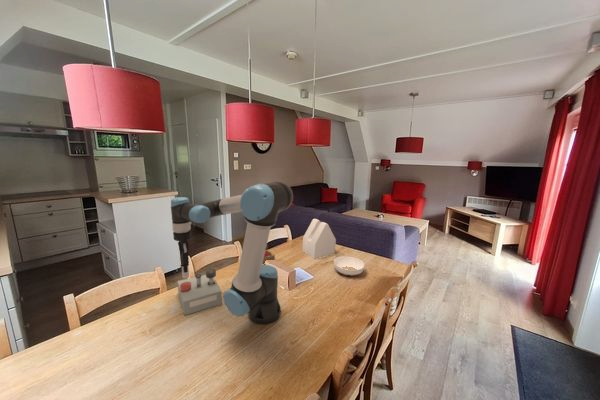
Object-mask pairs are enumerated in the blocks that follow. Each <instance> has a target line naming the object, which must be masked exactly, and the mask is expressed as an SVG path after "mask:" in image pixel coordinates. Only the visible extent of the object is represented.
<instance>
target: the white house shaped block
mask: <svg viewBox="0 0 600 400" xmlns="http://www.w3.org/2000/svg"><path fill="white" fill-rule="evenodd" d="M336 245H337V239H336V237H335V235H334V233H333V232H332V229H331V228H330V226H329V224H328V223H327V222H324V221H321V220H319V219H318V218H313V219H312V220H311V222H310V224H309V226H308V227H307V229H306V231H305V233H304V235H303V236H302V252H303V253H304V252H305V253H304V254H306V255H307V254H308V255H307V256H309V257H310V256H311V257H310V258H312V259H313V258H314V260H317V259H320V258H319V257H321V258H324V257H323V256H325V257H327V256H326V255H329V256H331V255H330V254H333V255H335V254H336ZM334 253H335V254H334ZM316 258H317V259H316Z"/></svg>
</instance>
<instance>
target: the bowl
mask: <svg viewBox="0 0 600 400" xmlns="http://www.w3.org/2000/svg"><path fill="white" fill-rule="evenodd" d="M333 265H334V268H335V270H336V271H337V272H338V273H340V274H342V275H343V276H347V275H350V276H349V277H353V276H358V275H360V274H361V273H363V272H364V270H365V265H366V264H365V263H364V261H362V260H361V259H359V258H356V257H353V256H344V255H343V256H338V257H336V258H335V259H334V260H333ZM346 266H347V267H353V268H355V269H357V270H348V269H343V268H342V267H346Z"/></svg>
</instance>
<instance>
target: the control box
mask: <svg viewBox="0 0 600 400" xmlns="http://www.w3.org/2000/svg"><path fill="white" fill-rule="evenodd" d="M213 281H214V284H211V285H209V278H207V277H206V274H203V275H202V274H201V286H200V287H197V281H196V276H195V277H194V276H193V277H188V278H184V279H181V280H177V291H178V292H177V293H178V297H179V301H180V305H181V308H182V312H183V315H184V316H187V315H190V314H193V313H196V312H199V311H200V312H201V311H203V310H206V309H209V308H213V307H216V306H220V305H222V304H223V294H222V293H223V292H222V289H221V288H220V286H219V285H220V284H219V283H218V282H217V280H216V278H215V277H213ZM184 282H190V283H191V290H189V291H187V292H182V291H180V284H182V283H184Z"/></svg>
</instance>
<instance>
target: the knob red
mask: <svg viewBox="0 0 600 400" xmlns="http://www.w3.org/2000/svg"><path fill="white" fill-rule="evenodd" d="M189 290H191V283H190V282H184V283H182V284H180V291H182V292H187V291H189Z"/></svg>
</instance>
